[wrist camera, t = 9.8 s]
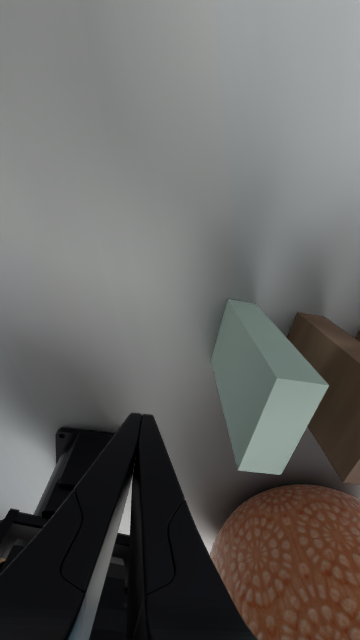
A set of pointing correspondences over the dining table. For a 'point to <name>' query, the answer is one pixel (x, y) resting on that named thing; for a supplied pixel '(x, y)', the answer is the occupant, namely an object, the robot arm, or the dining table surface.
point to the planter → (294, 563)
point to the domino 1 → (262, 388)
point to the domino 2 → (333, 390)
